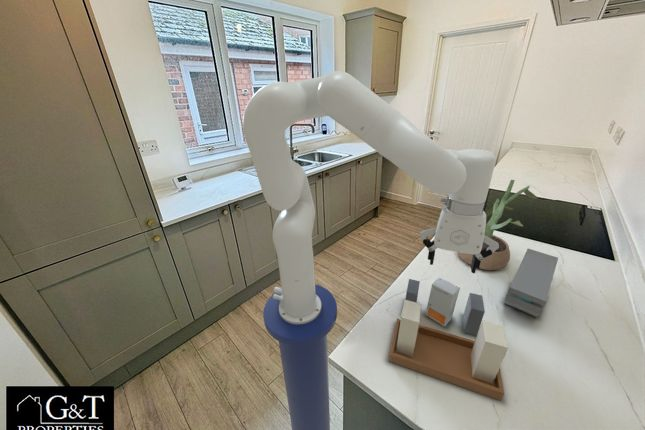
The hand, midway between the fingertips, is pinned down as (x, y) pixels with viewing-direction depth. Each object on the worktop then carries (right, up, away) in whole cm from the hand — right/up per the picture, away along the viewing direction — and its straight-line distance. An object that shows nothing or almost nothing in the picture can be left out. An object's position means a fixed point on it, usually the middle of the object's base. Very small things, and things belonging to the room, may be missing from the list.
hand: (451, 265), depth 67 cm
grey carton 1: (-7, -15, +11) cm, 20 cm away
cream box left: (-12, -20, 0) cm, 23 cm away
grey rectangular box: (+29, -13, +13) cm, 35 cm away
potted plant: (+30, -3, +34) cm, 45 cm away
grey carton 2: (+8, -18, +5) cm, 20 cm away
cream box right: (+4, -23, -6) cm, 24 cm away
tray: (-4, -22, -3) cm, 23 cm away
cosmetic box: (0, -17, +8) cm, 19 cm away
